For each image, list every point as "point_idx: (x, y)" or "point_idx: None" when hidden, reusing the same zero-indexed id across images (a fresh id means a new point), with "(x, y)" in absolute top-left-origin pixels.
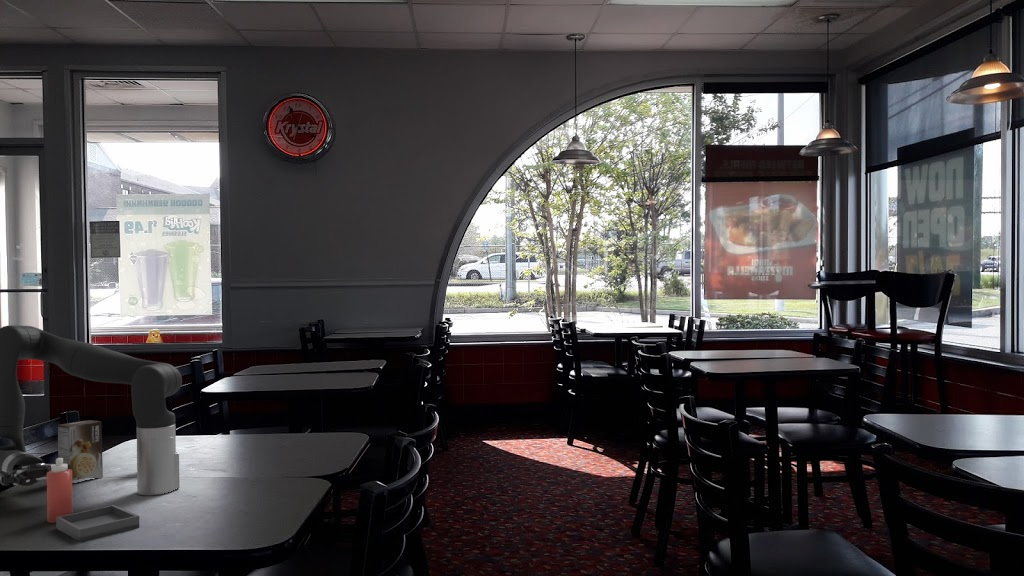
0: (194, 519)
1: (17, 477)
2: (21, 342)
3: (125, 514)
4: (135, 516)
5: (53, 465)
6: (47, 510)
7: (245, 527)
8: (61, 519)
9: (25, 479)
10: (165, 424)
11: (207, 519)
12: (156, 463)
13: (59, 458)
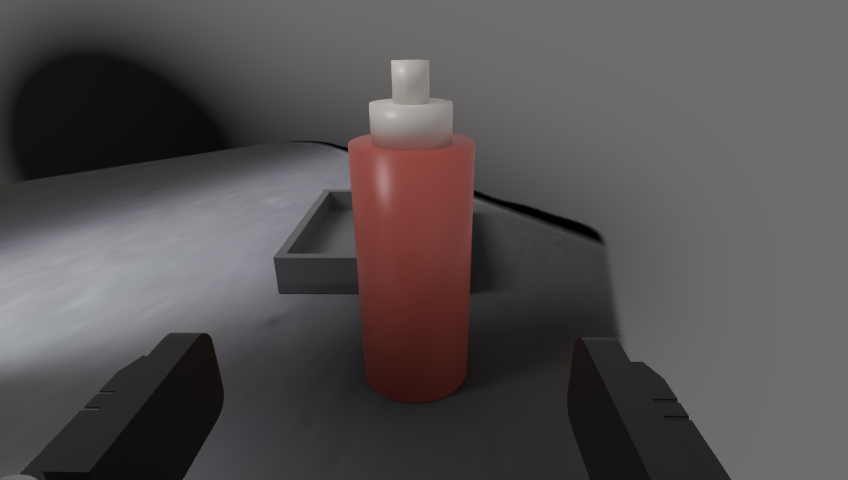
0: (231, 202)
1: (682, 441)
2: None
3: (315, 219)
4: (331, 190)
5: (437, 104)
6: (468, 325)
7: (246, 165)
8: None
9: (578, 353)
10: None
11: (223, 194)
12: None
13: (407, 61)
